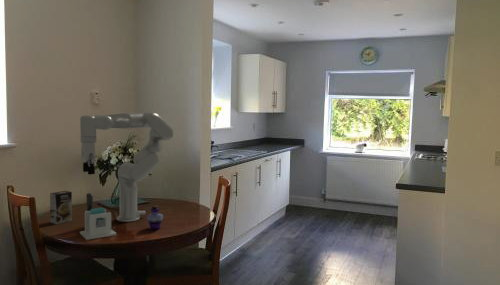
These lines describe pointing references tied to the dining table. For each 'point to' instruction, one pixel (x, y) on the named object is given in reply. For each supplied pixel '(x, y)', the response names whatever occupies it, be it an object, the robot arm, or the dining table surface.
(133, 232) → the dining table surface
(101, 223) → the shaft
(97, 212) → the block
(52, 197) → the coffee box
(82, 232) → the bearing block
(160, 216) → the potion bottle
